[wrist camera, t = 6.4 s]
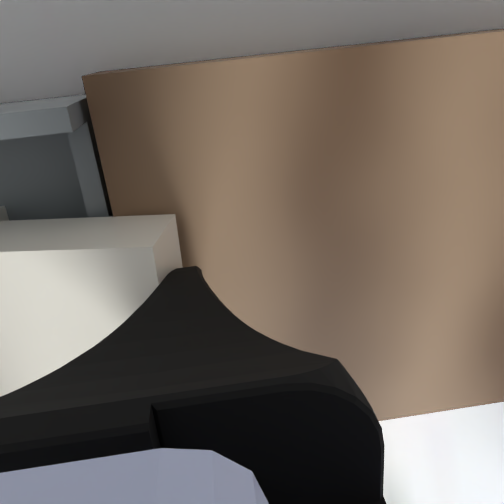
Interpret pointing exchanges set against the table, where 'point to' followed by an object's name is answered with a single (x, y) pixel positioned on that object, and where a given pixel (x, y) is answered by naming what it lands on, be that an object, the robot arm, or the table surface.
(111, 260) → the tile
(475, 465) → the table surface
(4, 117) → the tray
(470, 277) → the board
